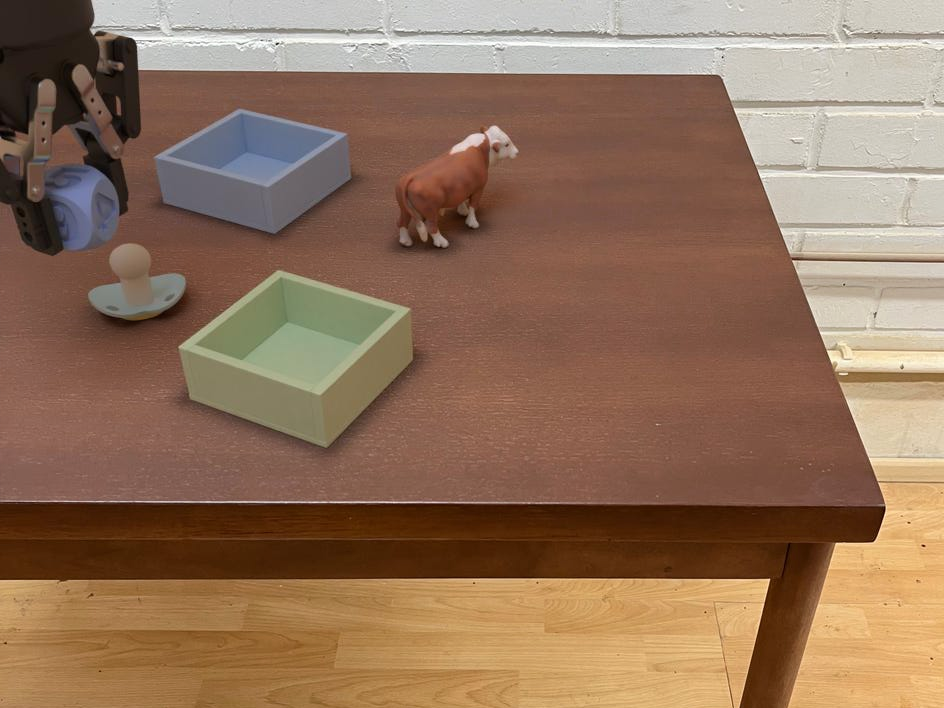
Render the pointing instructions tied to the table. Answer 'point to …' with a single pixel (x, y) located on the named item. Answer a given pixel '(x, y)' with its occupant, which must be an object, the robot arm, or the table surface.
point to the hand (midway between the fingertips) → (80, 230)
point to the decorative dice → (82, 205)
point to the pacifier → (136, 287)
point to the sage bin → (298, 356)
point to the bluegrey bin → (254, 169)
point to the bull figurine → (450, 183)
